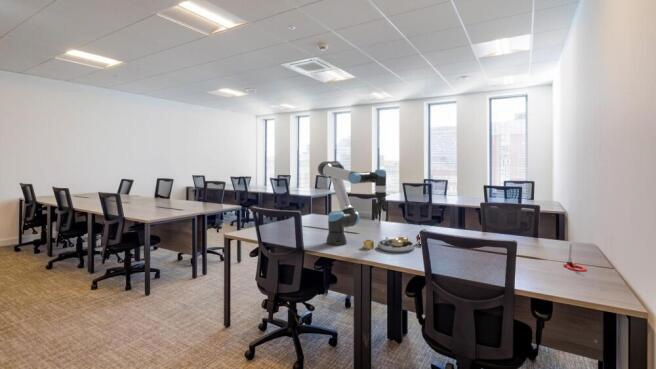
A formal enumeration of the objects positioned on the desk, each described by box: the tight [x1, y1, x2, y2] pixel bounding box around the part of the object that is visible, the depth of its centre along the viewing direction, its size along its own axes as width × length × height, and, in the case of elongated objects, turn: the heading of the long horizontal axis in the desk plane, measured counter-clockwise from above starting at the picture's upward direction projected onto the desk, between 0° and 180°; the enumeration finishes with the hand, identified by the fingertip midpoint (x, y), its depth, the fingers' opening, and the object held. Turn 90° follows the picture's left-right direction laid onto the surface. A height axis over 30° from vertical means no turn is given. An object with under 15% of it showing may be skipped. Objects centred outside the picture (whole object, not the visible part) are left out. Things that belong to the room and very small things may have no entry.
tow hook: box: [562, 243, 587, 272], centre depth 175 cm, size 8×13×9 cm
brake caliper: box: [415, 228, 426, 247], centre depth 233 cm, size 11×11×12 cm
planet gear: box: [363, 239, 375, 250], centre depth 227 cm, size 7×7×5 cm
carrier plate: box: [377, 236, 415, 254], centre depth 225 cm, size 24×24×7 cm
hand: (380, 221), depth 227 cm, fingers open, 13 cm apart
